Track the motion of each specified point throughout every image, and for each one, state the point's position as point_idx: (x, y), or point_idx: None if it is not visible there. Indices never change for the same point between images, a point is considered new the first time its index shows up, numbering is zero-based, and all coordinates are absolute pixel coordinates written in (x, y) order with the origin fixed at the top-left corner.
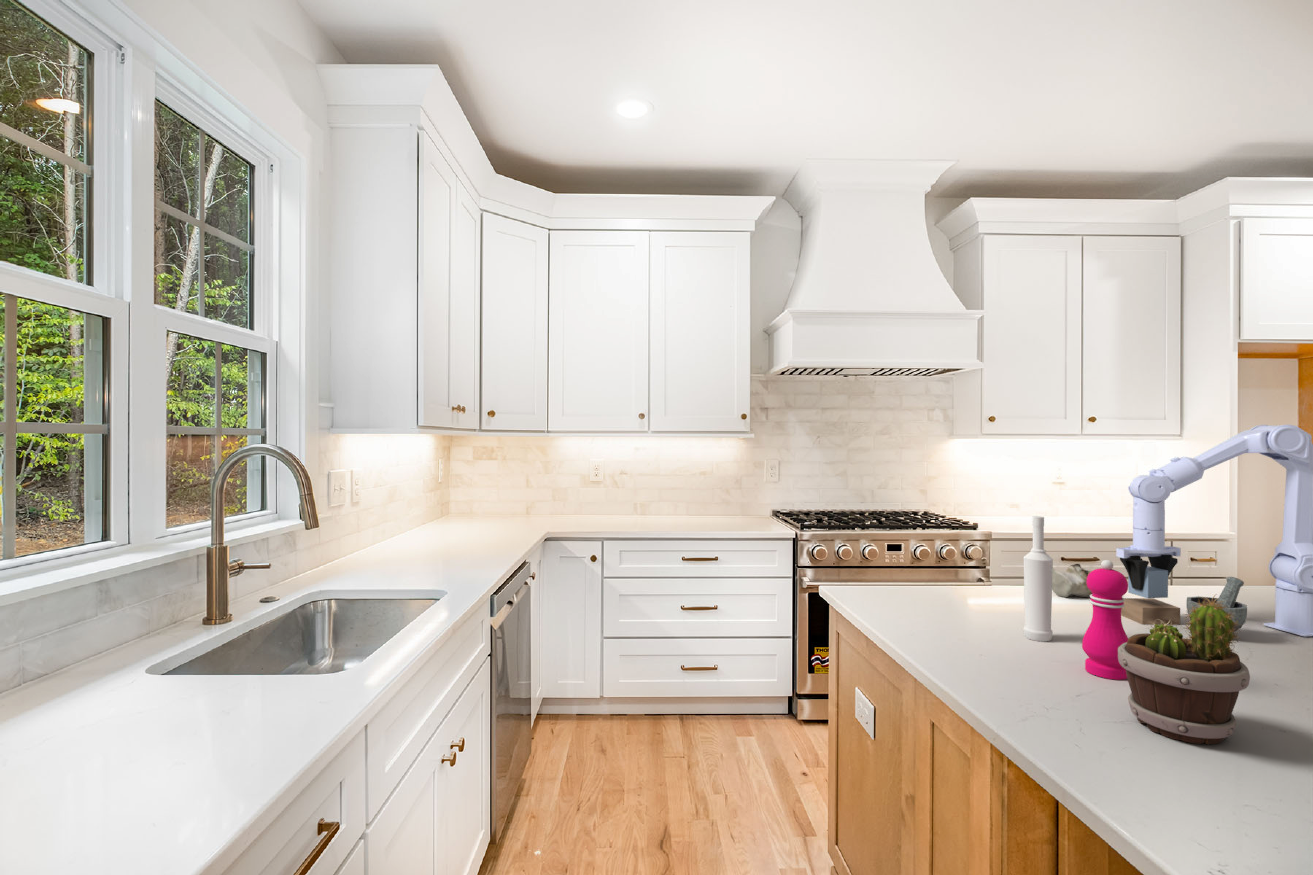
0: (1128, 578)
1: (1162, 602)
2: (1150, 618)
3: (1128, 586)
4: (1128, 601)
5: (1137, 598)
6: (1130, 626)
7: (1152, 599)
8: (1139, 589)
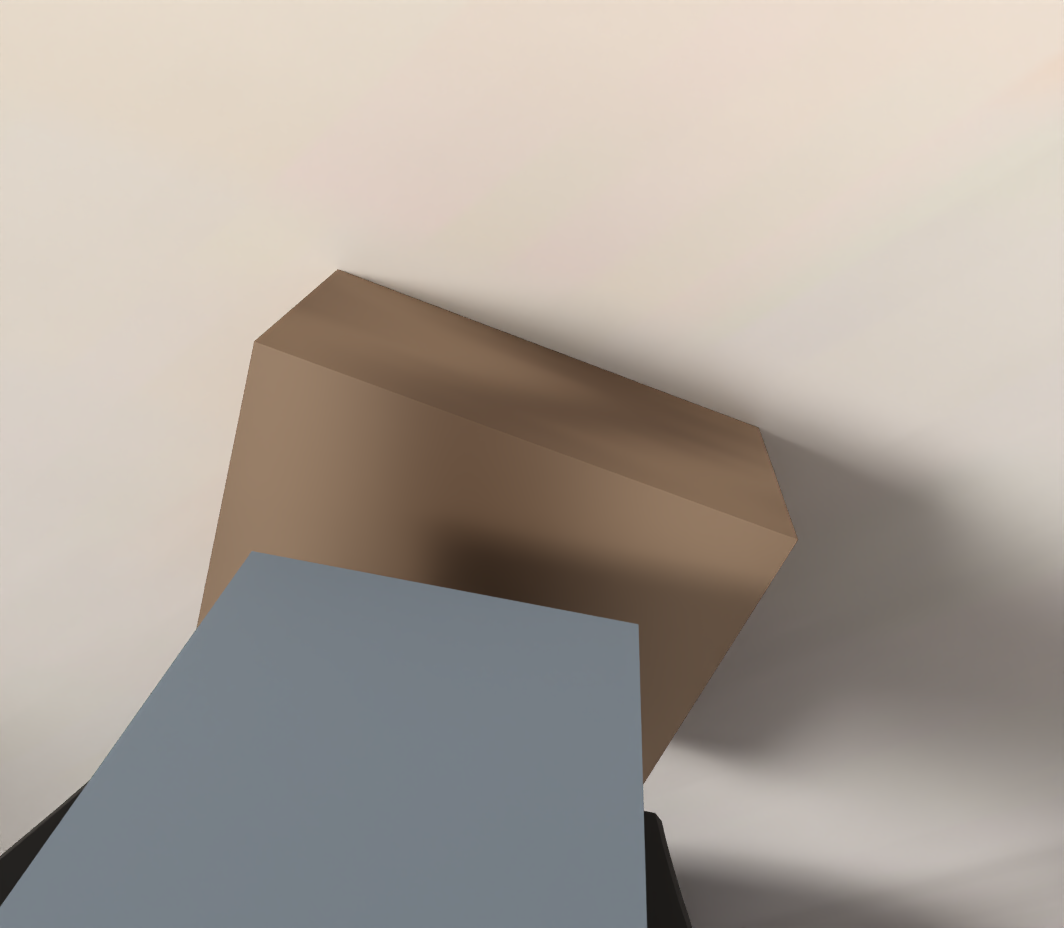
0: (115, 746)
1: (663, 695)
2: None
3: (203, 621)
4: (241, 524)
5: (545, 462)
6: (88, 605)
7: (714, 566)
8: None
